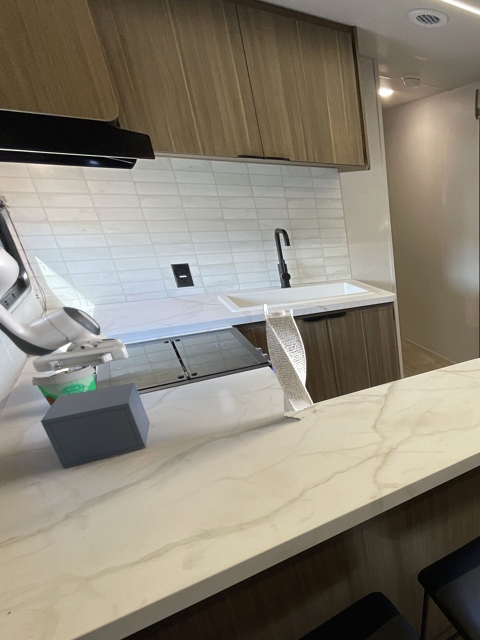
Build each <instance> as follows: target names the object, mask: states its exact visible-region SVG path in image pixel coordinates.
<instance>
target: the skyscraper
mask: <svg viewBox="0 0 480 640" xmlns="http://www.w3.org/2000/svg"><path fill="white" fill-rule="evenodd" d="M262 312H263V313H262V314H263V319H264V321H265V325H266V326H265V329H266V342H267V350H268V355H269V359H270V362H271V365H272V370H273V371H274V374H275V377H276V379H277V381H278V383H279V386H280V387H281V389H282V391H283V414H284V413H285V412H289V411H295V412H296V411H298V410H303V409H304V408H307V407H308V406H311V405H314V406H315V404H314V402H313V400H312V398H311V395H310V394H309V392H308V390H307V388H306V381H307V357H306V350H305V346H304V342H303V339H302V336H301V333H300V331H299V328H298V326H297V323H296V321H295V319H294V316H293V313H294V311H293V309H292V308H290V309H289V311H285V310H284V309H276V310H272V311H270V313H269V309H268V305H267V304H266V303H263V306H262Z"/></svg>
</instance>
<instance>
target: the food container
mask: <svg viewBox="0 0 480 640" xmlns="http://www.w3.org/2000/svg"><path fill="white" fill-rule="evenodd" d="M87 365H88V366H87V367H79V368H76V369H70V370H64V371H60V372H57V373H55V374H54V373H53V374H52V375H49V376H40V377H39V376H38V377H37V376H32V379H31V382H32V386H37V387H38V389H39V390H40V392H41V394H42V395H43V397H44V398H45V400H46V402H47V403H48V405H49V406H50V407H51V406H52V405H53V403H54V402H55V400H56V399H57V398H58V397H59V396H64V395H69V394H75V393H80V392H86V391H91V390H96V389H98V388H97V383H96V380H95V376H94V374H95V373H96V369H95V367H92V366H91V365H90V364H89V363H87Z"/></svg>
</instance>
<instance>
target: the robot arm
mask: <svg viewBox="0 0 480 640" xmlns="http://www.w3.org/2000/svg"><path fill="white" fill-rule="evenodd" d="M19 274H20V267H19V264H18V262H17V260H16V259H15V258H14V257H13V256H11V254H10V253H9V252H7V251H6V250H5V249H4V248H3V247H1V246H0V300H1V299H2V298H3V296H4V295H5V294H6V293H7V292H8V291H9V290H10V289H11V288H12V287H13V286H14V285H15V283H16V281H17V279H18V278H19ZM0 331H1V332H2V333H3V334H4V335H5V336H6V337H7V338H9V340H10V341H11V342H12V343H13V344H14V345H15V346H16V347H17V349H18V350H20V351H21V352H22V353H24V354H26V355H29V356H33V357H35V356H36V358H35V359H33V360H32V362H31V363H32V365H33V367H34V369H35V371H36V372H37V373H46V372H57V371H62V370H65V369H70V368H77V367H79V368H83V367H87V366H88V365H87V363H89V364H90V365H91V366H92V367H93V368H95V367H98V366H100V365H103V364H106V363H109V362H115V361H120V360H127V359H130V355H129V353H128V352H129V351H128V350H127V347H126V345H125V343H124V342H122V340H121V339H120V338H109V336H107V335H106V334H105V333H103V332H101V327H100V324H99V323H98V322H97V321H96V320H95V319H94V318H93V317H92V316H91V315H90V314H88V313H87V312H85V311H84V310H82V309H79V308H75V307H71V306H63V307H60V308H58V309H56V310H54V311H52V312H49V313H47V314H46V315H44V316H43V315H42V316H41V317H39V318H37V319H35V320H33V321H31V322H27V323H24V322H23V323H22V322H20V320H18V319H17V318H16V317H15V316H14V315H13V314H12V313H11V312H10V311H9V310H8V309H7V308H6V307H4V306H3V305H2V304H1V303H0ZM68 344H70V345H69V346H68V347H67V349H66V351H61V352H56V351H58V350H59V349H60V348H62V347H64V346H67V345H68Z"/></svg>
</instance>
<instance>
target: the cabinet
mask: <svg viewBox="0 0 480 640" xmlns="http://www.w3.org/2000/svg"><path fill="white" fill-rule="evenodd" d="M40 423H41V425H42V427H43V429H44V432H45V433H46V435H47V438H48V440H49V442H50V445H51V446H52V448H53V450H54V453H55V454H56V456H57V458H58V460H59V462H60V465H61V466H62V469H67V468H71V467H75V466H79V465H84V464H87V463H91V462H95V461H99V460H103V459H107V458H110V457H114V456H115V457H116V456H119V455H122V454H127V453H130V452H134V451H138V450H141V449H142V450H143V449H146V447H147V442H148V441H147V440H148V435H149V427H150V420H149V418H148V415H147V413H146V410H145V407H144V404H143V402H142V399H141V396H140V394H139V391H138V389H137V385H136V383H135V382H129V383H124V384H119V385H114V386H109V387H108V386H107V387H102V388H97V389H96V390H91V391H86V392H80V393H75V394H69V395H64V396H59V397H58V398H57V399H56V400H55V402H54V403H53V405H52V406H50V407H49V408H48V410H47V412H46V413H45V414H44V415H43V416H42V418H41V419H40Z"/></svg>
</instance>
